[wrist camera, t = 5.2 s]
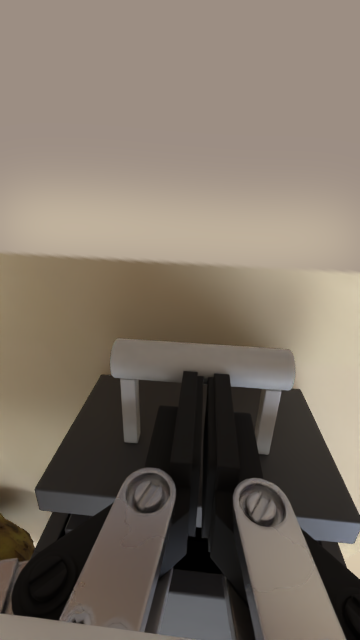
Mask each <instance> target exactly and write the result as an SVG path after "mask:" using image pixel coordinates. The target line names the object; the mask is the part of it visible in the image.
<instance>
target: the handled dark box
mask: <svg viewBox="0 0 360 640" xmlns="http://www.w3.org/2000/svg"><path fill="white" fill-rule="evenodd" d="M110 370H111V375H101V376H100V378H99V380H98V381H97V383H96V385H95V386H94V388H93V390H92V392H91V393H90V395H89V397H88V398H87V400H86V402H85V404H84V405H83V407H82V409H81V410H80V412H79V414H78V415H77V417H76V419H75V421H74V422H73V424H72V426H71V427H70V429H69V431H68V433H67V434H66V436H65V438H64V439H63V441H62V443H61V445H60V446H59V448H58V450H57V451H56V453H55V455H54V457H53V458H52V460H51V462H50V463H49V465H48V467H47V469H46V470H45V472H44V474H43V475H42V477H41V479H40V481H39V482H38V484H37V486H36V487H35V493H36V497H37V501H38V505H39V509H40V510H42V511H51V512H61V513H70V514H71V516H70V518H69V520H68V523H67V525H66V527H65V534H67V533H69V532H70V531H72V530H73V529H75V528H76V527H78V526H79V525H81V524H82V523H84V522H85V521H87V520H88V519H90V518H91V517H93V516H94V515H96V514H97V513H99V512H100V511H102V510H103V509H105V508H106V507H108V506H109V505H111V504H112V503H113V502H114V501H115V499H116V497H117V494H118V492H119V490H120V488H121V486H122V484H123V483H124V481H125V480H126V478H127V477H128V476H129V475H131V474H132V473H133V472H135V471H137V470H139V469H142V468H144V467H145V463H146V459H147V454H148V450H149V446H150V442H151V437H152V433H153V429H154V425H155V420H156V416H157V412H158V408H159V406H160V405H164V406H176V407H178V405H179V398H180V391H181V384H182V377H183V371H193V372H198V376H204V379H203V412H202V444H201V468H200V481H199V494H198V506H197V518H196V531H195V537H193V536H188V538H187V554H186V555H185V556H184V557H183V558H182V559H181V560H180V561H178V562H177V563H176V564H175V565H174V566H173V569H181V570H189V571H198V572H206V573H215V574H222V571H221V570H220V569H219V567H218V566H217V565H216V564H215V562H214V561H213V560H212V559H211V557H210V552H208V539H207V538H201V523H202V476H203V436H204V423H205V411H206V398H207V386H208V377H214V373H217V374H229V375H230V383H231V392H232V401H233V410H234V412H245V413H250V414H251V417H252V421H253V427H254V432H255V437H256V442H257V447H258V453H259V458H260V463H261V468H262V474H263V479H264V480H267V481H269V482H271V483H273V484H274V485H276V486H277V487H279V488H280V489H281V490H282V491H283V492H284V493H285V495H286V496H287V498H288V500H289V502H290V504H291V506H292V509H293V511H294V514H295V516H296V518H297V521H298V523H299V526H300V527H301V528H302V529H303V530H304V531H305V532H306V533H308V534H309V535H310V536H311V537H312V538H313V539H314V540H316V541H317V542H318V540H321V541H330V542H340V543H349V544H354V543H355V541H356V538H357V536H358V534H359V531H360V515H359V513H358V511H357V509H356V507H355V504H354V502H353V500H352V498H351V496H350V494H349V492H348V490H347V487H346V485H345V483H344V481H343V479H342V477H341V475H340V473H339V470H338V468H337V466H336V464H335V462H334V460H333V458H332V456H331V453H330V451H329V449H328V447H327V445H326V443H325V441H324V439H323V436H322V434H321V432H320V430H319V428H318V426H317V424H316V422H315V419H314V417H313V415H312V413H311V411H310V409H309V407H308V405H307V402H306V400H305V398H304V396H303V394H302V392H301V390H300V389H291V388H292V387H293V384H294V380H295V360H294V355H293V353H292V351H291V350H289V349H276V348H261V347H245V346H230V345H215V344H199V343H184V342H168V341H153V340H137V339H122V338H118V339H116V340H115V342H114V344H113V347H112V350H111V357H110Z"/></svg>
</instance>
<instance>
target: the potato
mask: <svg viewBox="0 0 360 640" xmlns="http://www.w3.org/2000/svg"><path fill="white" fill-rule="evenodd" d="M34 550H35V547H34V545H33V540H32V539H31V537H30V534H29V533H28V532H26V531H25V530H24V529H21V528H20V527H19V526H17V525H16V524H14V523H12V522H10V521H9V520H6V519H5V518H4V517H3V516H2V514H1V513H0V560H5V559H11V558H18V559H19V562H21V561H28V560H30V558H31V556H32V554H33V553H34Z"/></svg>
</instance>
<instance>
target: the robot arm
mask: <svg viewBox="0 0 360 640" xmlns="http://www.w3.org/2000/svg"><path fill="white" fill-rule="evenodd" d="M203 379H204V376H198V372H193V371H183V377H182V384H181V391H180V398H179V405H178V407H176V406H164V405H160V406H159V408H158V412H157V416H156V420H155V425H154V429H153V433H152V437H151V442H150V446H149V450H148V454H147V459H146V463H145V467H144V468H142V469H139V470H137V471H135V472H133V473H132V474H131V475H129V476H128V477H127V478H126V480H125V481H124V483H123V484H122V486H121V488H120V490H119V492H118V494H117V497H116V499H115V501H114V502H113V503H112V504H111V505H109V506H108V507H106V508H105V509H103V510H102V511H100V512H99V513H97V514H96V515H94V516H93V517H91V518H90V519H88V520H87V521H85V522H84V523H82V524H81V525H79V526H78V527H76V528H75V529H73V530H72V531H70V532H69V533H67V534H66V535H64V536H63V537H61V538H60V539H58V540H57V541H55V542H54V543H52V544H51V545H49V546H48V547H46V548H45V549H43V550H42V551H40V552H39V553H38V554H37V555H35V556H34V557H33V558H32V559H31V560H28V561H21V562H19V559H18V558H11V559H5V560H0V640H195V639H188V638H180V637H173V636H166V635H159V632H160V627H161V623H162V618H163V614H164V609H165V605H166V600H167V596H168V592H169V587H170V583H171V578H172V574H173V566H174V565H175V564H176V563H177V562H178V561H180V560H181V559H182V558H183V557H184V556H185V555H186V554H187V538H188V536H193V537H195V531H196V518H197V506H198V494H199V481H200V468H201V444H202V412H203ZM201 538H207V539H208V552H210V557H211V559H212V560H213V561H214V562H215V564H216V565H217V566H218V567H219V569H220V570H221V571H222V582H223V588H224V595H225V601H226V608H227V614H228V621H229V627H230V634H231V640H360V579H358V577H356V576H355V575H354V574H353V573H352V572H351V571H350V570H348V569H347V568H346V567H345V566H344V565H343V564H342V563H341V562H339V561H338V560H337V559H336V558H335V557H334V556H333V555H331V554H330V553H329V552H328V551H327V550H326V549H325V548H323V547H322V546H321V545H320V544H319V543H318V542H317V541H316V540H314V539H313V538H312V537H311V536H310V535H309V534H308V533H306V532H305V531H304V530H303V529H302V528H301V527H300V526H299V523H298V521H297V518H296V516H295V514H294V511H293V509H292V506H291V504H290V502H289V500H288V498H287V496H286V495H285V493H284V492H283V491H282V490H281V489H280V488H279V487H277V486H276V485H274V484H273V483H271V482H269V481H267V480H264V479H263V474H262V468H261V463H260V458H259V453H258V447H257V442H256V437H255V432H254V427H253V421H252V417H251V414H250V413H245V412H234V410H233V401H232V392H231V383H230V375H229V374H217V373H214V377H208V386H207V398H206V411H205V423H204V436H203V476H202V523H201Z"/></svg>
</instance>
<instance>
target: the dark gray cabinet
mask: <svg viewBox="0 0 360 640" xmlns="http://www.w3.org/2000/svg"><path fill="white" fill-rule="evenodd" d="M70 516H71V514H70V513H61V512H53V513H52V515H51V517H50V519H49V521H48V523H47V525H46V527H45V529H44V531H43V533H42V535H41V537H40V539H39V541H38V543H37V546H36V548H35V550H34V553H33V554H32V556H31V558H30V560H31V559H32V558H33V557H34V556H35V555H37V554H38V553H39V552H40V551H42V550H43V549H45V548H46V547H48V546H49V545H51V544H52V543H54V542H55V541H57V540H58V539H60V538H61V537H63V536H64V535H66V534H65V527H66V525H67V523H68V520H69V518H70ZM318 543H319V544H320V545H321V546H322V547H323V548H325V549H326V550H327V551H328V552H329V553H330V554H331V555H333V556H334V557H335V558H336V559H337V560H338V561H339V562H341V563H342V564H343V565H344V566H345V567H346V564H345V561H344V559H343V556H342V553H341V551H340V548H339V545H338V542H330V541H321V540H318ZM346 568H347V567H346ZM159 635H166V636H173V637H180V638H188V639H195V640H231V634H230V627H229V621H228V614H227V608H226V601H225V595H224V588H223V582H222V574H215V573H206V572H198V571H189V570H181V569H173V574H172V578H171V583H170V587H169V592H168V596H167V600H166V605H165V609H164V614H163V618H162V623H161V627H160V632H159Z"/></svg>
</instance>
